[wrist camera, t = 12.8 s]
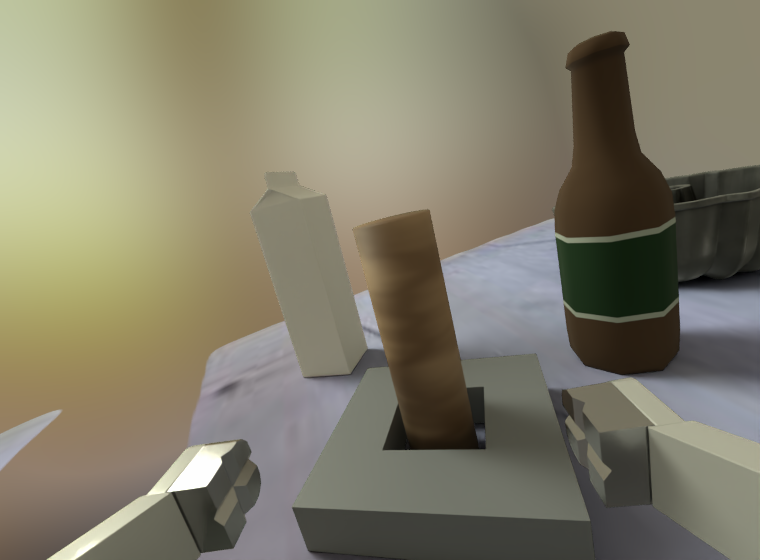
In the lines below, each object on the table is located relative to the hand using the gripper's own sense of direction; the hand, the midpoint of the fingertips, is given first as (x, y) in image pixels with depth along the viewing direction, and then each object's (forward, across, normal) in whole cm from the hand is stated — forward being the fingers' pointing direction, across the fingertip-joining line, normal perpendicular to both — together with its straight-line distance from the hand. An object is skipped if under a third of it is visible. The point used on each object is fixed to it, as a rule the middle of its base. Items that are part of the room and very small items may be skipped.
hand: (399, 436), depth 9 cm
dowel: (+12, 0, -12) cm, 17 cm away
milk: (+29, -11, -12) cm, 33 cm away
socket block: (+12, 0, -12) cm, 17 cm away
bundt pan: (+40, +33, -12) cm, 53 cm away
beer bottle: (+21, +16, -12) cm, 29 cm away
